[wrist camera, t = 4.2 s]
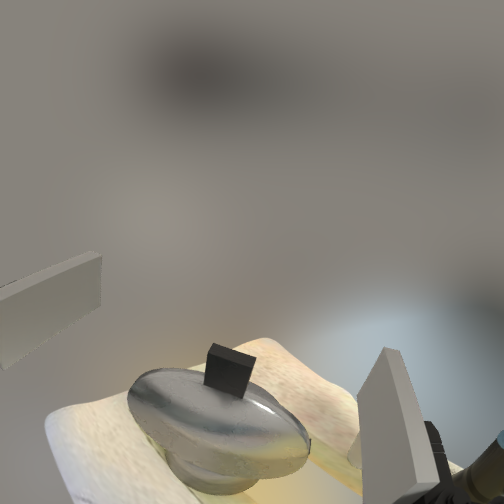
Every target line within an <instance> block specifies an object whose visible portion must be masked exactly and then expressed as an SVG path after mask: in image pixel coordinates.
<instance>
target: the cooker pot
mask: <svg viewBox="0 0 504 504" xmlns="http://www.w3.org/2000/svg"><path fill="white" fill-rule="evenodd" d="M247 387H248V388H250V389H252V390H255V391H257V392H259V393H261V394H262V395H264V396H266V397H268V398H270V399H272V400H273V401H275V402H276V403H278V402H277V400H276V399H275V398H274V397H273V396H272V395H271V394H269V393H268V392H267V391H266V390H264V389H263V388H261V387H259V386H258V385H256V384H254V383H252V382H249V383H248V386H247ZM278 404H279V403H278ZM309 440H310V446H311V439H309ZM165 451H166V459H167V462H168V465H169V467H170V469H171V470H172V472H173V473H174V474H175V476H176V477H177V478H178V479H179V480H180V481H182V482H183V483H184V484H186V485H187V486H189V487H191V488H192V489H195V490H197V491H199V492H202V493H206V494H211V495H220V496H223V495H232V494H237V493H240V492H243V491H245V490H247V489H249V488H250V487H252V486H253V485H254V484H255V483H257V481H258V480H259V479H246V478H238V477H232V476H227V475H225V476H223V475H220V474H217V473H214V472H211V471H208V470H206V469H203V468H200V467H198V466H195V465H192V464H190V463H187V462H185V460H183V459H182V458H180V457H178V456H176V455H174V454H173V453H171V452H170V451H168V450H167V449H165ZM309 454H310V447H309V453H308V455H309Z"/></svg>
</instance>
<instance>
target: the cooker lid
mask: <svg viewBox="0 0 504 504" xmlns="http://www.w3.org/2000/svg"><path fill="white" fill-rule="evenodd" d="M255 361H256V357H253V356H250V355H247V354H244V353H241V352H238V351H235V350H232V349H229V348H226V347H223V346H220V345H218V344H215V343H213V344H212V346H211V348H210V350H209V351H208V354H207V361H206V368H205V373H203V372H199V371H194V370H188V369H178V368H160V369H155V370H151V371H148V372H145V373H144V374H142V375H141V376H140V377H139V378H138V379H137V380H136V381H135V383H134V384H133V385H132V387H131V388H130V390H129V392H128V397H127V400H128V406H129V409H130V411H131V413H132V415H133V417H134V418H135V420H136V421H137V423H138V424H139V425H140V427H141V428H142V429H143V430H144V431H145V432H146V433H147V434H148V435H149V436H150V437H151V438H152V439H153V440H155V441H156V442H157V443H158V444H160V445H161V446H162V447H164V448H165V449H167V450H168V451H170V452H171V453H173V454H174V455H176V456H178V457H180V458H182V459H183V460H185V462H187V463H190V464H192V465H195V466H198V467H200V468H203V469H206V470H208V471H211V472H214V473H217V474H220V475H223V476H225V475H227V476H232V477H238V478H246V479H272V478H279V477H283V476H286V475H289V474H292V473H294V472H296V471H298V470H299V469H300V468H301V467H303V465H304V464H305V462H306V460H307V458H308V453H309V447H310V440H309V435H308V433H307V431H306V429H305V428H304V426H303V425H302V424H301V422H300V421H299V420H298V419H297V418H296V417H295V416H294V415H293V414H292V413H290V412H289V411H288V410H286V409H285V408H284V407H283V406H281V405H280V404H278V403H276V402H275V401H273V400H272V399H270V398H268V397H266V396H264V395H262V394H261V393H259V392H257V391H255V390H252V389H250V388H248V387H247V386H248V383H249V380H250V377H251V374H252V371H253V367H254V364H255Z"/></svg>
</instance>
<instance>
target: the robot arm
mask: <svg viewBox="0 0 504 504" xmlns="http://www.w3.org/2000/svg"><path fill="white" fill-rule="evenodd" d="M101 265H102V255H100V254H98V253H96V252H93V251H88V252H86V253H83V254H80V255H78V256H75V257H73V258H70V259H67V260H65V261H62V262H60V263H57V264H55V265H53V266H50V267H48V268H45V269H43V270H40V271H38V272H36V273H34V274H31V275H29V276H26V277H24V278H22V279H19V280H16V281H14V282H11V283H9V284H7V285H6V286H3V287H0V368H1V369H2V370H5V369H7V368H8V367H9V366H11V365H13V364H14V363H15V362H17V361H18V360H20V359H21V358H23V357H24V356H26V355H27V354H28V353H30V352H31V351H33V350H34V349H36V348H37V347H38V346H40V345H42V344H43V343H45V342H46V341H48V340H49V339H50V338H52V337H54V336H55V335H57V334H58V333H60V332H61V331H63V330H64V329H66V328H67V327H69V326H70V325H72V324H73V323H75V322H76V321H78V320H79V319H81V318H82V317H84V316H85V315H87V314H89V313H90V312H92V311H93V310H95V309H96V308H98V307H99V306H100V302H101V299H100V298H101V297H100V296H101ZM357 402H358V413H359V425H360V439H361V456H362V482H363V504H504V430H502V431H501V432H500V433H499V435H498V437H497V438H496V440H495V441H494V442H493V443H492V444H491V445H490V446H489V447H488V448H487V449H486V450H485V451H484V452H483V454H482V455H481V456H480V457H479V458H478V459H477V460H476V461H475V462H474V463H473V464H472V465H471V466H469V467H468V468H466V469H464V470H462V471H460V472H458V473H456V474H454V475H452V476H451V472H450V469H449V465H448V461H447V458H446V455H445V454H444V452H445V451H444V448H443V445H441V444H442V441H441V438H440V435H439V432H438V430H437V429H436V428H435V426H434V425H433V424H432V422H431V421H424V420H423V417H422V414H421V411H420V408H419V405H418V402H417V398H416V395H415V392H414V389H413V387H412V384H411V381H410V378H409V375H408V372H407V370H406V367H405V364H404V362H403V359H402V356H401V354H400V351H398V350H394V349H390V348H386V347H384V348H383V350H382V352H381V353H380V355H379V357H378V359H377V361H376V363H375V365H374V367H373V368H372V370H371V372H370V374H369V376H368V377H367V379H366V381H365V382H364V384H363V386H362V388H361V389H360V391H359V393H358V394H357Z"/></svg>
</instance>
